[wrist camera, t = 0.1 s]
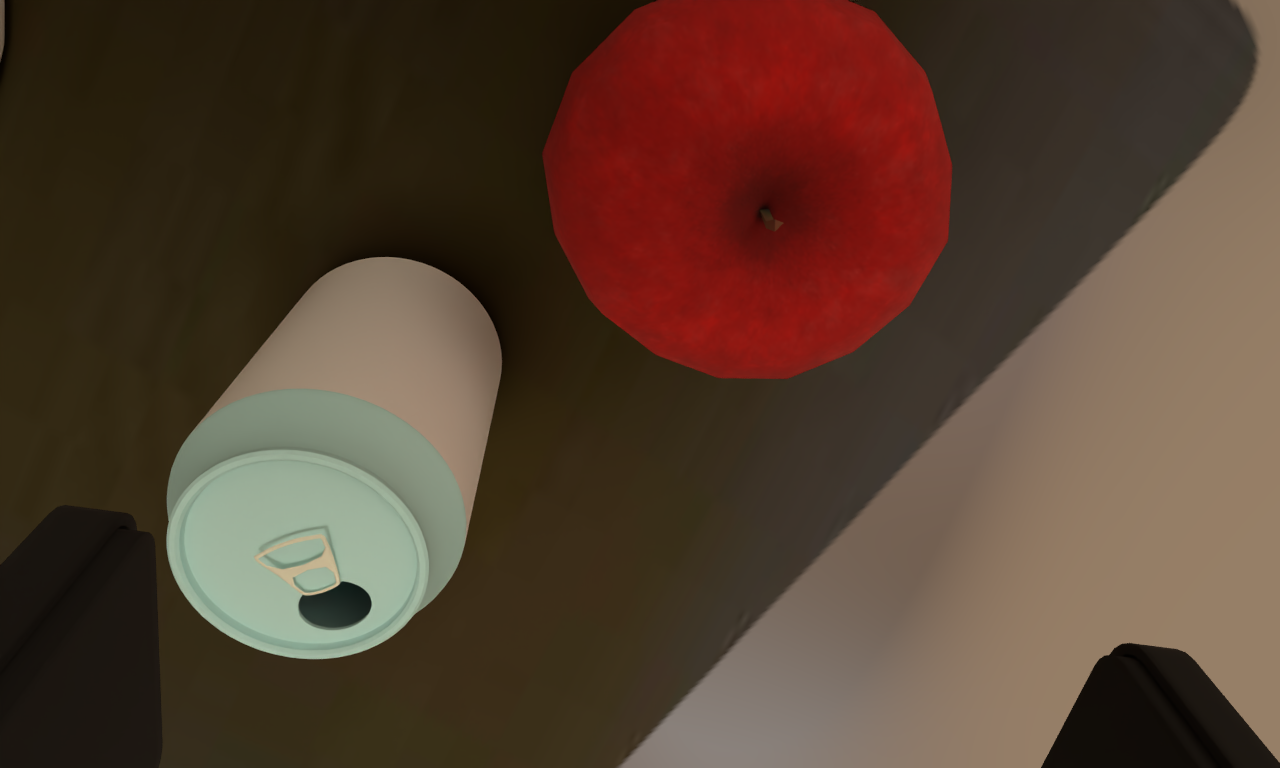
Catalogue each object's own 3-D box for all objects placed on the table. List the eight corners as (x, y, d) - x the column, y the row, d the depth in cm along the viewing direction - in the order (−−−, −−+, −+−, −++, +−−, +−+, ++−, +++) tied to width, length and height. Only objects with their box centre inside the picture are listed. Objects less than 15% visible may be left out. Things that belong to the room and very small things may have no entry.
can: (541, 319, 31) (513, 521, 20) (442, 471, 34) (370, 723, 23) (350, 209, 29) (208, 368, 19) (260, 378, 32) (87, 605, 21)
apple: (493, 136, 29) (440, 240, 19) (717, -115, 26) (791, -146, 16) (713, 338, 32) (765, 515, 22) (932, 133, 29) (1102, 233, 19)
